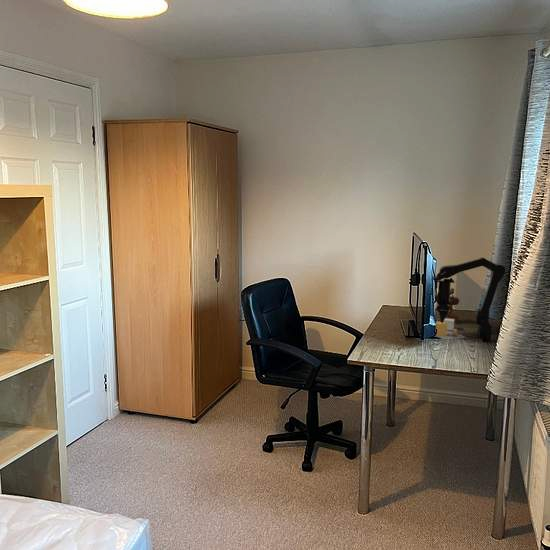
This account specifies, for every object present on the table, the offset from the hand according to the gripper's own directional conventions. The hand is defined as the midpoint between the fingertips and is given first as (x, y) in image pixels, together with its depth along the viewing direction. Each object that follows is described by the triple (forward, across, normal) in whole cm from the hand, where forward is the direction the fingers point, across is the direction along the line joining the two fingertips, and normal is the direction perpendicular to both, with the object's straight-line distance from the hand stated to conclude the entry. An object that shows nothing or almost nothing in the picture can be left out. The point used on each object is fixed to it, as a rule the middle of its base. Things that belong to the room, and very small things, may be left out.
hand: (442, 320), depth 287 cm
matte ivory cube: (+8, -16, +3) cm, 18 cm away
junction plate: (+8, 0, +2) cm, 9 cm away
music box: (+9, -40, +3) cm, 41 cm away
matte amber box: (+7, 0, 0) cm, 7 cm away
